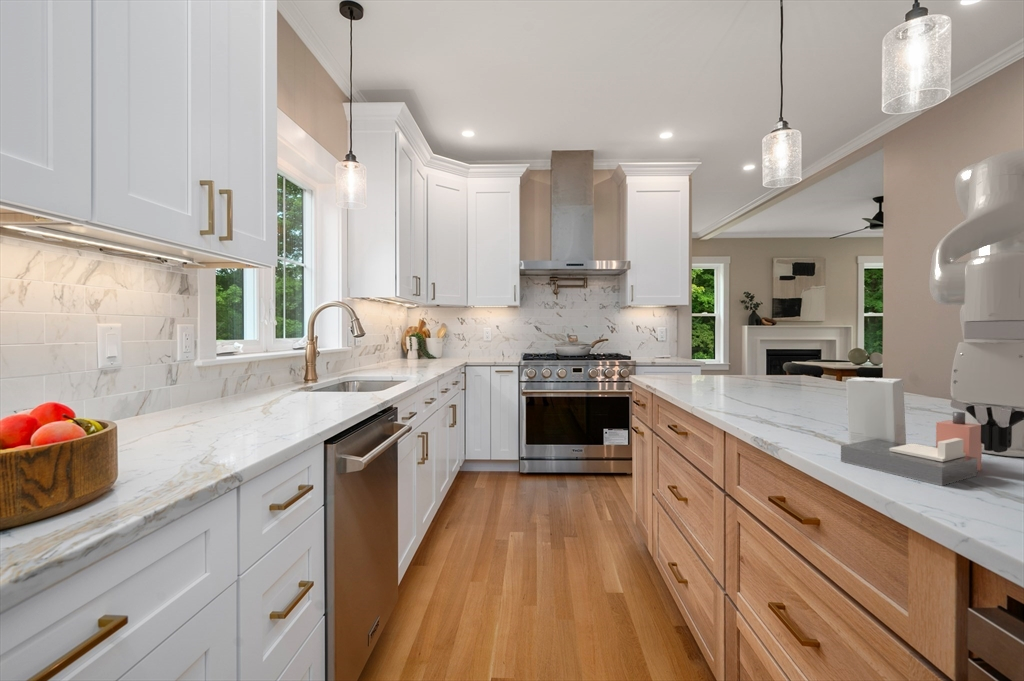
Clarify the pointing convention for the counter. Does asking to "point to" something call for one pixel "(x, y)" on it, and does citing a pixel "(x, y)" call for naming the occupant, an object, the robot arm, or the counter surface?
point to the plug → (962, 435)
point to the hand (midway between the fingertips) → (995, 450)
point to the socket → (907, 462)
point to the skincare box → (876, 409)
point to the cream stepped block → (934, 450)
